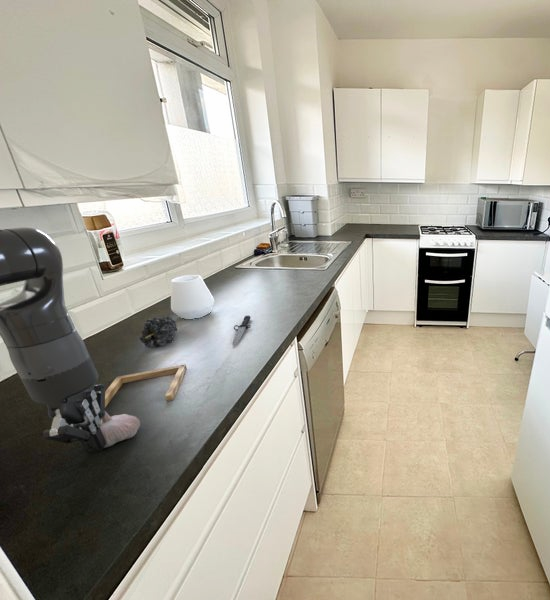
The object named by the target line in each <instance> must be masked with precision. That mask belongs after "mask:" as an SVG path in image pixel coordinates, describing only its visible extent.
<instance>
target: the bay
mask: <svg viewBox="0 0 550 600" xmlns="http://www.w3.org/2000/svg"><path fill="white" fill-rule="evenodd" d="M187 370H188V367H187V364H179V365H174V366H169V367H163V368H157V369H151V370H146V371H142V372H136V373H130V374H125V375H119V376H116V377H115V379H114V380H113V381H112V382H111V384H110V385H109V386H108V387H107V389H105V408H106V407H107V406H108V405H109V403H110V402H111V401H112V399H113V398H114V396H115V395H116V394H117V392H118V391H119V390H120V388H121V387H122V385H124V384H126V383H132V382H137V381H143V380H147V379H152V378H158V377H164V376H169V375H174V377H173V379H172V381H171V383H170V385H169V387H168V389H167V391H166V393H165V396H164V397H165V401H166V402H170V401H174V399H175V397H176V394H177V392H178V390H179V388H180V386H181V384H182V381H183V379H184V377H185V375H186V372H187Z"/></svg>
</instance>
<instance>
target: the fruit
mask: <svg viewBox="0 0 550 600" xmlns="http://www.w3.org/2000/svg"><path fill="white" fill-rule="evenodd" d="M177 331H178V328H177V324H176V321H175V320H174V319H173V317H172V316H168V315H167V316H163V317H160V316H159V317H153V319H152V318H148V319H147V320H146V322H145V323H144V325H143V329H142V330H141V335H140V336H139V341H141V343H142V344H144V346H145V347H146V348H151V347H152V346H156V347H163V346H165V345H166V344H167V343H173V342H174V340H175V338H174V336H175V334H176V332H177ZM172 341H173V342H172ZM160 345H161V346H160Z"/></svg>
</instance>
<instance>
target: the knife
mask: <svg viewBox="0 0 550 600" xmlns="http://www.w3.org/2000/svg"><path fill="white" fill-rule="evenodd" d="M250 321H251V315H244V317H243V320H242V322H241V324H239V325H237V324H235V325H234V326H233V329H234V331H236V333H234V336H233V340H232V344H231V346H235V345H236V344H237V343H239V341H240V340H241V338H242V336H243V334H244V332H245V331H246V330H247V329H250V328H251V327H252V326H251V325H250V324H248V323H249V322H250ZM236 327H237V328H236Z"/></svg>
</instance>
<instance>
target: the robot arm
mask: <svg viewBox="0 0 550 600" xmlns="http://www.w3.org/2000/svg"><path fill="white" fill-rule="evenodd" d="M21 282H24V284H23V287H22V289H21V291H20V292H19V293H17V294H16V295H14V296H13V297H11V298H9V299H6V300H5V301H1V302H0V337H1V339H2V342H3V343H4V346H6V350H7V352H8V354H9V359H10V362H11V364H12V366H13V367H14V370H15V371H16V373H17V374H18V377H19V378H20V380H21V382H22V384H23V386H24V388H25V389H26V391H27V393H28V395H29V397H30V398H31V400H32V401H34V402H36V403H40V404H43V405H45V406H46V407H47V414H48V417H49V418H50V419H51V420H52V423H51V427H50V429H45V430H44V431H43V432H42V437H43V439H46V440H49V441H53V442H58V443H63V444H66V445H67V444H72V443H76V442H80V443H81V445H82V447H83V449H84V451H85V452H86V454H95V453H99V452H102V451H103V449H105V448H104V447H105V445H106V443H107V442H106V440H105V438H104V435H103V433H102V431H101V429H100V427H101V420H102V419H101V418H103V417H104V416H105V411H106V407H105V391H106V385H105V383H99V384H96V383H97V382H98V380H99V373H98V371H97V369H96V367H95V364H94V362H93V359H92V357H91V355H90V353H89V350H88V348H87V346H86V344H85V341H84V340H83V338H82V336H81V335H80V334H79V332H78V330H77V329H76V327H75V324H74V322H73V319H72V318H71V315H70V313H69V311H68V309H67V307H66V301H65V290H64V263H63V255H62V253H61V249H60V248H59V246H58V244H57V243H56V242H55V240H54V239H53V238H51V237H50V236H49V235H48V234H46V233H45V232H44V231H42V230H39V229H37V228H33V227H12V228H3V229H2V228H1V229H0V287H1V286H5V285H11V284H15V283H16V284H17V283H21Z"/></svg>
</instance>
